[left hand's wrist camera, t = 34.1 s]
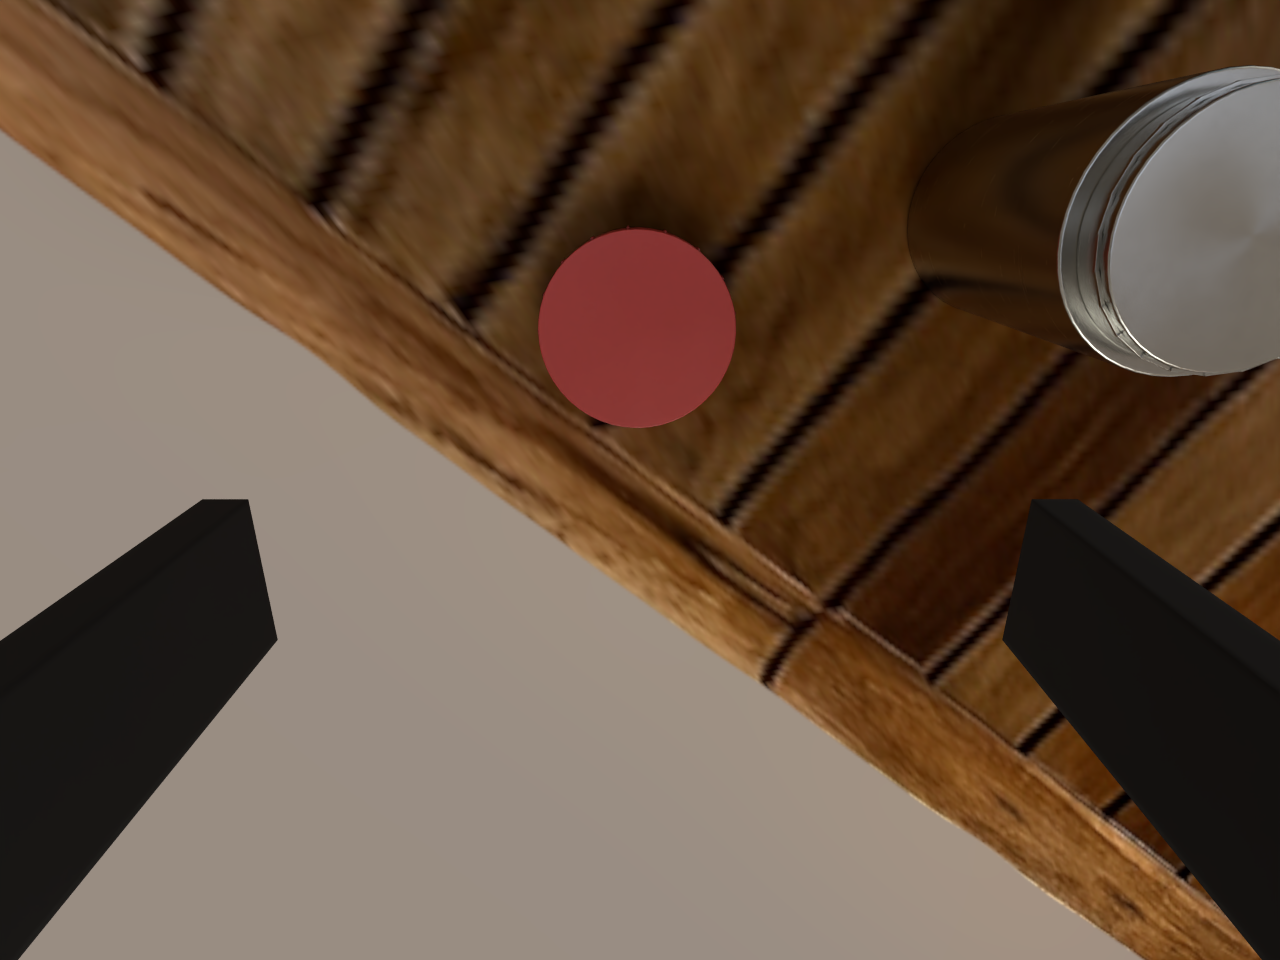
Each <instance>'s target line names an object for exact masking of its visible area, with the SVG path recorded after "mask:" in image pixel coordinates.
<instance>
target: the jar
mask: <svg viewBox="0 0 1280 960" xmlns="http://www.w3.org/2000/svg"><path fill="white" fill-rule="evenodd" d="M907 233H908V245H909V250H910V255H911V258H912V261H913V264H914V267H915V269H916V271H917V273H918V275H919V277H920V278H921V280H922V281H923V282H924V284H925V285H926V287H927V288H928V289H929V290H930V291H931V292H932V293H933V294H934V295H935V296H937V297H938V298H939V299H941V300H942V301H943V302H945V303H947V304H949V305H951V306H953V307H955V308H958V309H961V310H964V311H966V312H969V313H972V314H975V315H977V316H980V317H983V318H986V319H988V320H991V321H994V322H997V323H999V324H1002V325H1005V326H1008V327H1010V328H1013V329H1016V330H1019V331H1021V332H1024V333H1027V334H1030V335H1032V336H1035V337H1038V338H1041V339H1044V340H1046V341H1049V342H1052V343H1055V344H1057V345H1060V346H1063V347H1066V348H1068V349H1071V350H1074V351H1077V352H1079V353H1082V354H1085V355H1088V356H1090V357H1093V358H1096V359H1099V360H1101V361H1104V362H1107V363H1110V364H1112V365H1115V366H1118V367H1121V368H1124V369H1126V370H1129V371H1132V372H1135V373H1140V374H1145V375H1150V376H1163V377H1174V376H1188V375H1193V374H1195V375H1202V376H1210V375H1217V374H1225V373H1232V372H1239V371H1240V372H1243V371H1245V370H1248V369H1251V368H1253V367H1256V366H1259V365H1261V364H1264V363H1267V362H1269V361H1272V360H1274V359H1280V69H1278V68H1274V67H1268V66H1254V65H1247V66H1234V67H1226V68H1222V69H1217V70H1212V71H1208V72H1203V73H1198V74H1194V75H1189V76H1184V77H1180V78H1175V79H1170V80H1166V81H1161V82H1156V83H1152V84H1147V85H1142V86H1138V87H1133V88H1128V89H1124V90H1119V91H1114V92H1110V93H1105V94H1100V95H1096V96H1091V97H1086V98H1082V99H1077V100H1072V101H1068V102H1063V103H1058V104H1054V105H1049V106H1044V107H1040V108H1035V109H1030V110H1026V111H1021V112H1016V113H1012V114H1007V115H1002V116H998V117H993V118H991V119H988V120H985V121H982V122H980V123H978V124H976V125H974V126H972V127H970V128H968V129H966V130H965V131H964V132H962V133H961V134H959V135H958V136H956V137H955V138H954V139H953V140H951V141H950V142H949V143H948V144H947V145H946V146H945V147H944V148H943V149H942V150H941V151H940V152H939V153H938V154H937V155H936V156H935V158H934V159H933V160H932V162H931V163H930V165H929V166H928V167H927V169H926V171H925V172H924V174H923V176H922V177H921V179H920V181H919V184H918V186H917V188H916V190H915V193H914V196H913V199H912V203H911V206H910V211H909V217H908V230H907Z"/></svg>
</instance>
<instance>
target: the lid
mask: <svg viewBox="0 0 1280 960" xmlns="http://www.w3.org/2000/svg"><path fill="white" fill-rule="evenodd" d="M561 263H562V264H561V266H560V267H559V268H558V269H557V270H556V272H555V274H554V275H553V277H552V279H551V280H550V282H549V284H548V286H547V289H546V291H545V292H544V293H543V300H542V303H541V307H540V313H539V320H538V335H539V344H540V349H541V353H542V357H543V360H544V363H545V365H546V368H547V370H548V372H549V374H550V376H551V378H552V380H553V381H554V383H555V384H556V386H557V387H558V388H559V390H560V391H561V392H562V393H563V394H564V396H565V397H566V398H567V399H568V400H569V401H570V402H571V403H573V404H574V405H575V406H576V407H577V408H579V409H580V410H582V411H583V412H585V413H586V414H588V415H590V416H592V417H594V418H596V419H598V420H600V421H603V422H606V423H609V424H612V425H617V426H622V427H632V428H642V427H652V426H658V425H662V424H665V423H668V422H672V421H674V420H676V419H678V418H681V417H683V416H685V415H686V414H688V413H690V412H691V411H693V410H694V409H696V408H697V407H698V406H699V405H700V404H702V403H703V402H704V401H705V400H706V399H707V398H708V397H709V396H710V395H711V394H712V393H713V391H714V390H715V389H716V387H717V386H718V385H719V383H720V382H721V380H722V378H723V376H724V375H725V373H726V371H727V368H728V366H729V363H730V361H731V358H732V354H733V351H734V345H735V337H736V319H735V315H736V313H735V311H734V307H733V303H732V300H731V296H730V293H729V291H728V289H727V286H726V284H725V282H724V277H723V276H722V275H721V274H719V272H718V271H717V269H716V268H715V267H714V266H713V264H712V263H711V262H710V261H709V260H708V259H707V258H706V257H705V256H704V255H703V254H702V253H701V252H700V249H699V248H698V247H697V246H696V248H695V247H694V246H692V245H691V244H690V243H688V242H687V241H685V240H683V239H681V238H679V237H678V236H676V235H673V234H670V233H668V232H667V231H666V230H665V229H664V231H662V230H657V229H652V228H642V227H632V228H629V226H627V228H622V229H617V230H612V231H609V232H607V233H604V234H601V235H599V236H597V237H594V236H592V237H591V238H590V240H589V241H587V242H586V243H585V244H583V245H582V246H580V247H579V248H578V249H576V250H575V251H574V252H573V253H572V254H571V255H570V256H569V257H568V258H567V259H564V260H563V261H562V262H561Z"/></svg>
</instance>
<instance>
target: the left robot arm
mask: <svg viewBox="0 0 1280 960" xmlns="http://www.w3.org/2000/svg"><path fill="white" fill-rule="evenodd" d="M1002 640H1003V641H1004V642H1005V644H1006V645H1007V646H1008V647H1009V649H1010V650H1011V651H1012V652H1013V654H1014V655H1015V656H1016V657H1017V658H1018V660H1019V661H1020V662H1021V663H1022V665H1023V666H1024V667H1025V668H1026V670H1027V671H1028V672H1029V673H1030V674H1031V676H1032V677H1033V678H1034V679H1035V681H1036V682H1037V683H1038V684H1039V686H1040V687H1041V688H1042V689H1043V690H1044V692H1045V693H1046V694H1047V695H1048V697H1049V698H1050V699H1051V700H1052V702H1053V703H1054V704H1055V705H1056V706H1057V708H1058V709H1059V710H1060V711H1061V713H1062V714H1063V715H1064V716H1065V718H1066V719H1067V720H1068V721H1069V723H1070V724H1071V725H1072V726H1073V727H1074V729H1075V730H1076V731H1077V732H1078V734H1079V735H1080V736H1081V737H1082V739H1083V740H1084V741H1085V742H1086V743H1087V745H1088V746H1089V747H1090V748H1091V750H1092V751H1093V752H1094V753H1095V755H1096V756H1097V757H1098V758H1099V759H1100V761H1101V762H1102V763H1103V764H1104V766H1105V767H1106V768H1107V769H1108V771H1109V772H1110V773H1111V774H1112V776H1113V777H1114V778H1115V779H1116V780H1117V782H1118V783H1119V784H1120V785H1121V787H1122V788H1123V789H1124V790H1125V792H1126V793H1127V794H1128V795H1129V796H1130V798H1131V799H1132V800H1133V801H1134V803H1135V804H1136V805H1137V806H1138V808H1139V809H1140V810H1141V811H1142V812H1143V814H1144V815H1145V816H1146V817H1147V819H1148V820H1149V821H1150V822H1151V824H1152V825H1153V826H1154V827H1155V829H1156V830H1157V831H1158V832H1159V833H1160V835H1161V836H1162V837H1163V838H1164V840H1165V841H1166V842H1167V843H1168V845H1169V846H1170V847H1171V848H1172V849H1173V851H1174V852H1175V853H1176V854H1177V856H1178V857H1179V858H1180V859H1181V861H1182V862H1183V863H1184V864H1185V865H1186V867H1187V868H1188V869H1189V870H1190V872H1191V873H1192V874H1193V875H1194V877H1195V878H1196V879H1197V880H1198V881H1199V883H1200V884H1201V885H1202V886H1203V888H1204V889H1205V890H1206V891H1207V893H1208V894H1209V895H1210V896H1211V898H1212V899H1213V900H1214V901H1215V902H1216V904H1217V905H1218V906H1219V907H1220V909H1221V910H1222V911H1223V912H1224V914H1225V915H1226V916H1227V917H1228V918H1229V920H1230V921H1231V922H1232V923H1233V925H1234V926H1235V927H1236V928H1237V930H1238V931H1239V932H1240V933H1241V934H1242V936H1243V937H1244V938H1245V939H1246V941H1247V942H1248V943H1249V944H1250V946H1251V947H1252V948H1253V949H1254V951H1255V952H1256V953H1257V954H1258V955H1259V957H1260V958H1261V959H1262V960H1280V641H1279V640H1278V639H1276V638H1275V637H1273V636H1272V635H1271V634H1269V633H1268V632H1266V631H1265V630H1263V629H1262V628H1261V627H1259V626H1258V625H1256V624H1255V623H1253V622H1252V621H1251V620H1249V619H1248V618H1246V617H1245V616H1243V615H1242V614H1241V613H1239V612H1238V611H1236V610H1235V609H1233V608H1232V607H1231V606H1229V605H1228V604H1226V603H1225V602H1223V601H1222V600H1221V599H1219V598H1218V597H1216V596H1215V595H1213V594H1212V593H1211V592H1209V591H1208V590H1206V589H1205V588H1203V587H1202V586H1201V585H1199V584H1198V583H1196V582H1195V581H1193V580H1192V579H1191V578H1189V577H1188V576H1186V575H1185V574H1183V573H1182V572H1181V571H1179V570H1178V569H1176V568H1175V567H1173V566H1172V565H1171V564H1169V563H1168V562H1166V561H1165V560H1163V559H1162V558H1161V557H1159V556H1158V555H1156V554H1155V553H1153V552H1152V551H1151V550H1149V549H1148V548H1146V547H1145V546H1143V545H1142V544H1141V543H1139V542H1138V541H1136V540H1135V539H1133V538H1132V537H1131V536H1129V535H1128V534H1126V533H1125V532H1123V531H1122V530H1121V529H1119V528H1118V527H1116V526H1115V525H1113V524H1112V523H1111V522H1109V521H1108V520H1106V519H1105V518H1103V517H1102V516H1101V515H1099V514H1098V513H1096V512H1095V511H1093V510H1092V509H1091V508H1089V507H1088V506H1086V505H1085V504H1083V503H1082V502H1081V501H1079V500H1078V499H1032V501H1031V506H1030V511H1029V515H1028V520H1027V525H1026V530H1025V534H1024V539H1023V544H1022V549H1021V554H1020V558H1019V563H1018V568H1017V573H1016V577H1015V582H1014V587H1013V592H1012V596H1011V601H1010V606H1009V611H1008V616H1007V620H1006V625H1005V630H1004V635H1003V639H1002ZM276 641H277V635H276V630H275V625H274V620H273V616H272V611H271V606H270V601H269V597H268V592H267V587H266V582H265V577H264V573H263V568H262V563H261V558H260V554H259V549H258V544H257V539H256V534H255V530H254V525H253V520H252V515H251V511H250V506H249V501H248V499H203V500H201V501H200V502H198V503H197V504H195V505H194V506H192V507H191V508H189V509H188V510H187V511H185V512H184V513H182V514H181V515H180V516H178V517H177V518H175V519H174V520H172V521H171V522H169V523H168V524H167V525H165V526H164V527H162V528H161V529H160V530H158V531H157V532H155V533H154V534H152V535H151V536H150V537H148V538H147V539H145V540H144V541H142V542H141V543H139V544H138V545H137V546H135V547H134V548H132V549H131V550H129V551H128V552H127V553H125V554H124V555H122V556H121V557H120V558H118V559H117V560H115V561H114V562H112V563H111V564H109V565H108V566H107V567H105V568H104V569H102V570H101V571H100V572H98V573H97V574H95V575H94V576H92V577H91V578H89V579H88V580H87V581H85V582H84V583H82V584H81V585H79V586H78V587H77V588H75V589H74V590H72V591H71V592H69V593H68V594H67V595H65V596H64V597H62V598H61V599H59V600H58V601H57V602H55V603H54V604H52V605H51V606H49V607H48V608H47V609H45V610H44V611H42V612H41V613H40V614H38V615H37V616H35V617H34V618H32V619H31V620H30V621H28V622H27V623H25V624H24V625H22V626H21V627H19V628H18V629H17V630H15V631H14V632H12V633H11V634H9V635H8V636H7V637H5V638H4V639H2V640H1V641H0V960H18V959H19V958H20V957H21V955H22V954H23V953H24V952H25V951H26V949H27V948H28V947H29V946H30V944H31V943H32V942H33V941H34V939H35V938H36V937H37V936H38V934H39V933H40V932H41V931H42V929H43V928H44V927H45V926H46V925H47V923H48V922H49V921H50V920H51V918H52V917H53V916H54V915H55V914H56V912H57V911H58V910H59V909H60V907H61V906H62V905H63V904H64V902H65V901H66V900H67V899H68V898H69V896H70V895H71V894H72V893H73V891H74V890H75V889H76V888H77V886H78V885H79V884H80V883H81V881H82V880H83V879H84V878H85V877H86V875H87V874H88V873H89V872H90V870H91V869H92V868H93V867H94V865H95V864H96V863H97V862H98V861H99V859H100V858H101V857H102V856H103V854H104V853H105V852H106V851H107V849H108V848H109V847H110V846H111V845H112V843H113V842H114V841H115V840H116V838H117V837H118V836H119V835H120V833H121V832H122V831H123V830H124V828H125V827H126V826H127V825H128V824H129V822H130V821H131V820H132V819H133V817H134V816H135V815H136V814H137V812H138V811H139V810H140V809H141V807H142V806H143V805H144V804H145V803H146V801H147V800H148V799H149V798H150V796H151V795H152V794H153V793H154V791H155V790H156V789H157V788H158V787H159V785H160V784H161V783H162V782H163V780H164V779H165V778H166V777H167V776H168V774H169V773H170V772H171V771H172V769H173V768H174V767H175V766H176V764H177V763H178V762H179V761H180V759H181V758H182V757H183V756H184V754H185V753H186V752H187V751H188V750H189V748H190V747H191V746H192V745H193V743H194V742H195V741H196V740H197V739H198V737H199V736H200V735H201V734H202V732H203V731H204V730H205V729H206V727H207V726H208V725H209V724H210V723H211V721H212V720H213V719H214V718H215V716H216V715H217V714H218V713H219V711H220V710H221V709H222V708H223V706H224V705H225V704H226V703H227V701H228V700H229V699H230V698H231V697H232V695H233V694H234V693H235V692H236V690H237V689H238V688H239V687H240V686H241V684H242V683H243V682H244V681H245V679H246V678H247V677H248V676H249V674H250V673H251V672H252V671H253V669H254V668H255V667H256V666H257V665H258V663H259V662H260V661H261V660H262V658H263V657H264V656H265V655H266V654H267V652H268V651H269V650H270V649H271V647H272V646H273V645H274V644H275V642H276Z"/></svg>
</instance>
